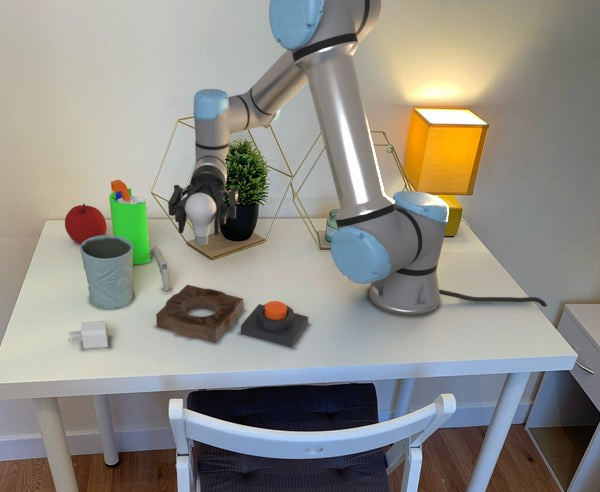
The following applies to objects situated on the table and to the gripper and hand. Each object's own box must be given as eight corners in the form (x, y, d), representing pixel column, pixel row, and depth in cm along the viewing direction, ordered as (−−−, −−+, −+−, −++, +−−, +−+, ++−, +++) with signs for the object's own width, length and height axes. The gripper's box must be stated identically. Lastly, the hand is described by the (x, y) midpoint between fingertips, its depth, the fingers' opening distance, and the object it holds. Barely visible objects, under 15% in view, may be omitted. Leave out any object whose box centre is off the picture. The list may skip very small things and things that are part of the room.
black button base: (307, 324, 135) (309, 308, 133) (292, 347, 129) (293, 330, 126) (258, 312, 138) (259, 295, 135) (240, 334, 131) (240, 317, 129)
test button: (289, 311, 132) (290, 304, 131) (281, 322, 129) (282, 314, 128) (269, 306, 133) (269, 298, 132) (260, 317, 130) (261, 309, 129)
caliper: (169, 292, 140) (166, 264, 137) (165, 292, 140) (162, 264, 137) (158, 264, 157) (155, 239, 155) (153, 264, 157) (151, 239, 154)
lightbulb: (222, 243, 136) (221, 192, 129) (207, 255, 131) (205, 203, 124) (197, 236, 138) (195, 185, 131) (181, 248, 133) (178, 195, 126)
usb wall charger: (108, 348, 125) (105, 331, 122) (69, 351, 123) (66, 333, 121) (108, 336, 128) (105, 319, 125) (71, 339, 126) (67, 321, 124)
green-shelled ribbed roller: (160, 257, 153) (154, 182, 141) (131, 268, 148) (122, 191, 137) (136, 243, 157) (128, 169, 146) (107, 253, 153) (97, 177, 141)
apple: (111, 234, 160) (106, 194, 154) (105, 251, 154) (99, 211, 147) (72, 232, 160) (66, 193, 153) (64, 250, 153) (56, 209, 146)
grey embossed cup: (92, 285, 142) (84, 233, 134) (140, 286, 143) (135, 235, 135) (84, 311, 134) (75, 257, 126) (135, 311, 135) (129, 258, 127)
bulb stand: (246, 310, 138) (247, 298, 136) (217, 345, 128) (216, 332, 126) (186, 294, 141) (186, 282, 139) (153, 327, 131) (152, 315, 129)
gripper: (252, 199, 147) (248, 247, 129) (166, 195, 146) (149, 243, 128) (252, 166, 142) (248, 211, 125) (163, 161, 141) (146, 206, 123)
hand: (198, 227), depth 126 cm, fingers closed on lightbulb, 6 cm apart
